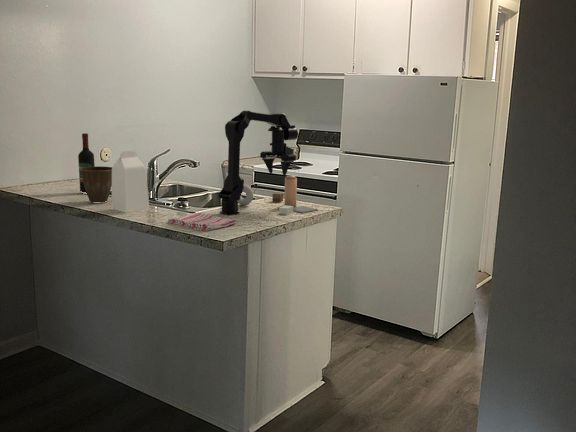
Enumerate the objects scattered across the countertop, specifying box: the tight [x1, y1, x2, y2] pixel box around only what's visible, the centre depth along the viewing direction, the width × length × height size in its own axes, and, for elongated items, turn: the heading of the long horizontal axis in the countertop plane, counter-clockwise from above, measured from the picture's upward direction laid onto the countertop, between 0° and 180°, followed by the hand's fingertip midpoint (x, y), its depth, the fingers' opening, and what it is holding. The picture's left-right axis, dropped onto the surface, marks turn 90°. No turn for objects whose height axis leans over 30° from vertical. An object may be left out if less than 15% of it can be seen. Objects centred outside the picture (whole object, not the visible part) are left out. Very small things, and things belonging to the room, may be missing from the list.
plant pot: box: [81, 166, 113, 203], centre depth 282 cm, size 15×15×16 cm
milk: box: [111, 150, 150, 213], centre depth 266 cm, size 12×12×26 cm
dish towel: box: [167, 212, 237, 232], centre depth 244 cm, size 17×23×4 cm
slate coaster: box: [293, 205, 319, 214], centre depth 274 cm, size 10×10×1 cm
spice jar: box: [283, 175, 298, 207], centre depth 282 cm, size 6×6×14 cm
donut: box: [237, 184, 254, 207], centre depth 281 cm, size 10×4×10 cm, turn 64°
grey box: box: [278, 205, 294, 215], centre depth 267 cm, size 6×4×3 cm, turn 154°
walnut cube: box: [271, 192, 284, 203], centre depth 294 cm, size 4×4×4 cm
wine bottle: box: [77, 132, 96, 192], centre depth 304 cm, size 8×8×30 cm
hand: (277, 174), depth 280 cm, fingers open, 9 cm apart
